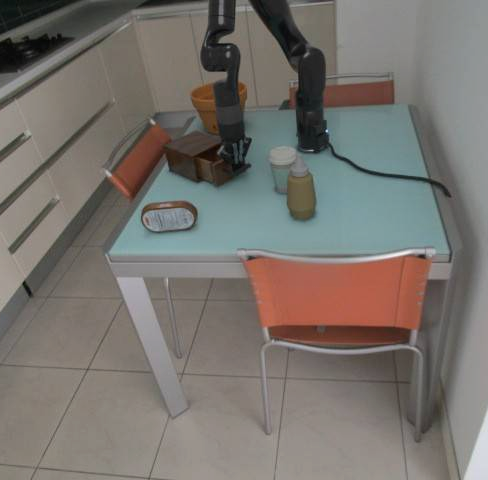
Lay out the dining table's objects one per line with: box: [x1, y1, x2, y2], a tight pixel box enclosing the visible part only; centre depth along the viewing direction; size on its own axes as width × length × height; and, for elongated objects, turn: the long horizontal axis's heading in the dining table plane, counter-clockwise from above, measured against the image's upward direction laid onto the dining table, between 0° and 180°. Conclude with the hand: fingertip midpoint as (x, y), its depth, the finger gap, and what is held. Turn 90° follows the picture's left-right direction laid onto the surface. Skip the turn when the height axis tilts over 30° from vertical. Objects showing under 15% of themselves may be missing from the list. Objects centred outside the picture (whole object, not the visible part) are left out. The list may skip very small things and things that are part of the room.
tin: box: [140, 199, 199, 233], centre depth 124 cm, size 15×3×8 cm, turn 92°
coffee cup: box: [267, 145, 298, 194], centre depth 135 cm, size 8×8×12 cm
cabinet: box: [163, 129, 221, 184], centre depth 152 cm, size 15×14×9 cm
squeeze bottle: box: [286, 152, 318, 221], centre depth 121 cm, size 8×8×18 cm
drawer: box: [195, 145, 252, 188], centre depth 145 cm, size 19×12×7 cm, turn 47°
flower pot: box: [189, 80, 248, 135], centre depth 176 cm, size 21×21×15 cm
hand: (238, 172), depth 141 cm, fingers closed
